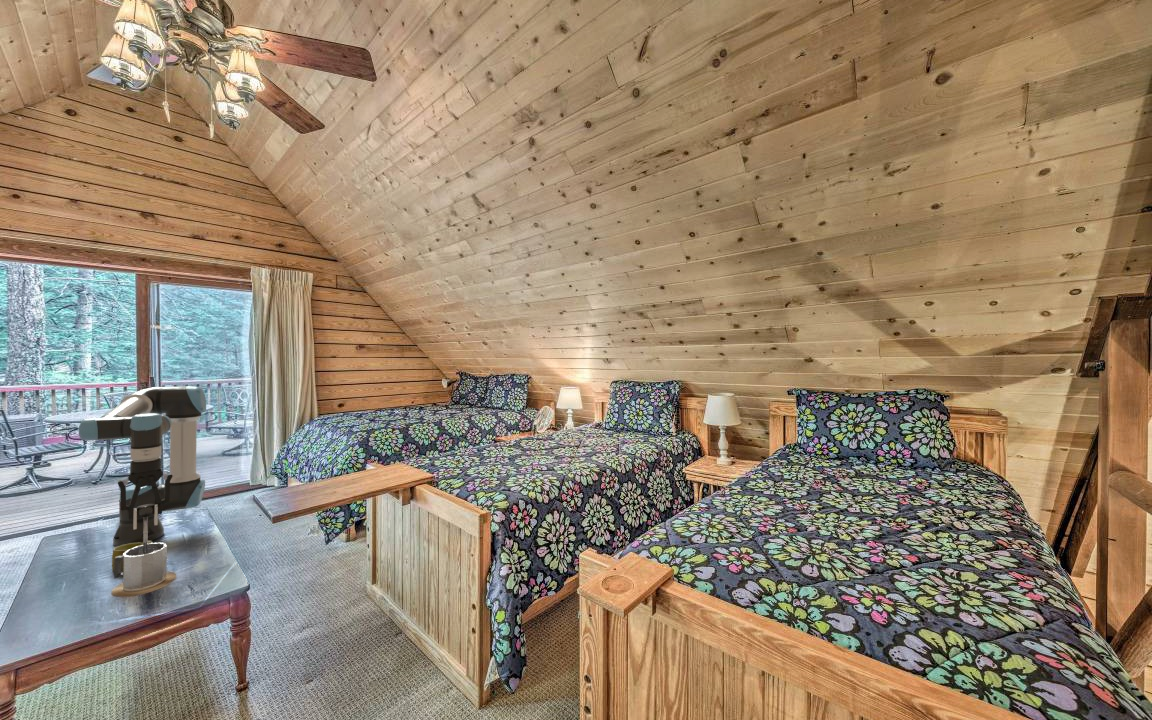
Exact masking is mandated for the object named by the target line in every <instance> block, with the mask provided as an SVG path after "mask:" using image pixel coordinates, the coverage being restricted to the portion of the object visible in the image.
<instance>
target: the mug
mask: <svg viewBox="0 0 1152 720" xmlns="http://www.w3.org/2000/svg"><path fill="white" fill-rule="evenodd" d="M149 543H154V542H153V540H152V541H148V544H149ZM140 545H143V543H140V542H139V543H130V544H125V545H121V546H115V547H114V548H113V550H112V554H111V568H112V569H111V570H112V571H113V572H114V558H115V557H117V556H122V555H123V553H124V552H126V551H127V550H129V549H131V548H134V547H137V546H140ZM121 573H123V560H121Z"/></svg>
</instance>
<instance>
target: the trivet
mask: <svg viewBox="0 0 1152 720" xmlns="http://www.w3.org/2000/svg"><path fill="white" fill-rule="evenodd" d="M177 577H178V575H177V573H176V572H173V571H167V576H166V580H165V581H164V582H163V583H161V584H160V585H158V586H155V587H153V588H150V589H147V590H143V591H138V592H124V591H123V582H121V583H120V584H118V585H116V586H115V587H114V588H113V589H112V590H111V591H110V594H111V595H112V596H113V597H116V598H129V597H136V596H141V595H145V594H148V593H152V592H155V591H157V590H159V589H162V588H164V587H166V586H168V585H170V584H172V582H174V581H175V580H176V578H177Z"/></svg>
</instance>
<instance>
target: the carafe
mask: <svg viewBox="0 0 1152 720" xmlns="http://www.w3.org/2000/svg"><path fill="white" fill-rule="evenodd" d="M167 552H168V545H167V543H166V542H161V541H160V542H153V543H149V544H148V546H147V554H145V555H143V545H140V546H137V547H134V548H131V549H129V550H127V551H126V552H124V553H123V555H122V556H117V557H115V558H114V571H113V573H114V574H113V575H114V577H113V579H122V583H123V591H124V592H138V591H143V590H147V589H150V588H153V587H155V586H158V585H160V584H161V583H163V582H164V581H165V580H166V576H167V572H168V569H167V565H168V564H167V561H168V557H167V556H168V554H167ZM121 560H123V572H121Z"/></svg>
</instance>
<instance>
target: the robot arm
mask: <svg viewBox="0 0 1152 720" xmlns="http://www.w3.org/2000/svg"><path fill="white" fill-rule="evenodd" d="M206 411H207V398H206V395H205V392H204V390H203V388H202V387H200V386H191V385H190V386H189V385H187V386H184V385H183V386H153V387H149V388H143V389H140V390H137V391H134V392H132V393H130V394H128V395H126V396H125V397H124V398H122V399H121V401H120V403H119V404H118V405H117V406H115V407H114V408H112V409H111V410H109V411H108V412H107V413H105V414H104V415H101V416H100V417H93V418H85V419H83V420H82V421H81V422H80V424H79V425H78V426H79V427H78V437H79V438H80V439H81V440H82V441H102V440H103V441H104V440H105V441H106V440H118V439H119V440H121V439H130V450H129V451H130V455H129V456H130V460H131V461H130V463H129V464H130V468H129V470H130V472H129V473H130V474H129V475H128V476H127V478H124V479H119V480H118V481H117V485H118V487H119V489H120V493H119V500H118V502H119V503H118V504H119V509H118V510H119V511H118V512H119V514H118V515H119V518H118V519H119V521H118V522H119V523H118V526H117V528H116V531H115V533H114V535H113V538H112V545H113V546H115V547H118V546H121V545H125V544H130V543H139V542H140V543H143V532H144V517H137V507H138V506H141V505H145V504H155V514H153V515H150V516H148V541H152V542H153V541H155V540H156V539H160V538H161V537H162V536H163V535H164V534H165V532H164V531H165V527H164V526H163V524H162V521H161V519H160V517H159V515H162V514H163V512H168V511H169V512H170V511H171V512H172V511H177V510H187V509H192V508H196V507H198V506H199V505H200V504H201V503H202V500H203V497H204V493H205V487H206V480H204V479H201V475H200V474H198V473H197V436H198V435H197V432H198V431H197V429H198V428H197V426H198V425H197V423H198V421H197V420H199V419H200V418H201V417H202V414H203V413H205V412H206ZM169 431H170V433H169V434H170V437H169V473H165V472H163V470H162V458H161V457H162V436H163V435H165V434H167V433H168V432H169ZM162 477H163V480H164V483H161V484H160V481H159V480H160V479H161V478H162ZM129 482H130V483H131V484H132V485H129V486H128V484H129ZM126 486H127V487H126Z"/></svg>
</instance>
